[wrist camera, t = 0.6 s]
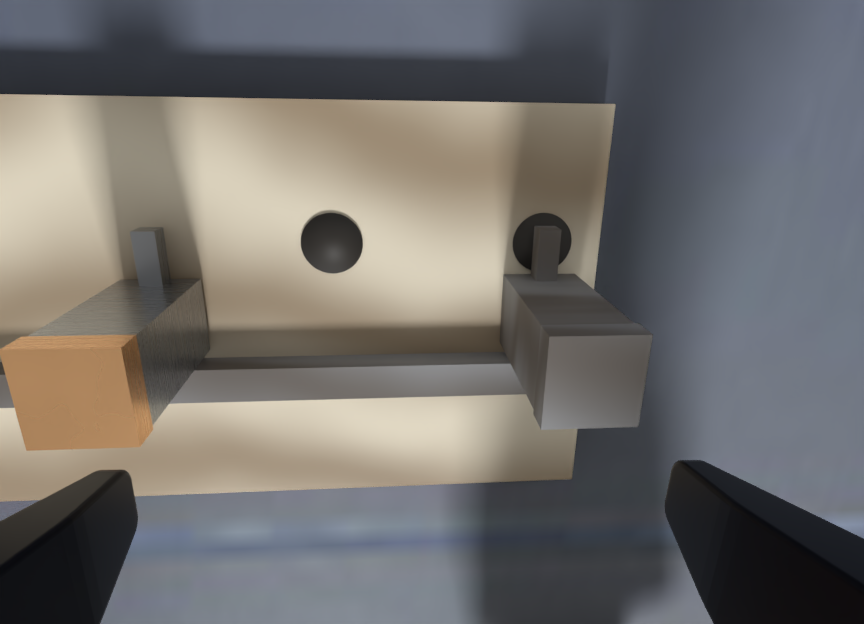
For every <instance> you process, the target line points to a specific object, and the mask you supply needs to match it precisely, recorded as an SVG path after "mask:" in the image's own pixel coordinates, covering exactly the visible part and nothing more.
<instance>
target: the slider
mask: <svg viewBox="0 0 864 624" xmlns="http://www.w3.org/2000/svg"><path fill="white" fill-rule="evenodd" d="M130 236H131V241H132V247H133V253H134V259H135V265H136V270H137V276H138V279H120V280H119V281H117V282H116V283H114V284H112V285H111V286H109V287H107V288H106V289H104V290H102V291H101V292H99V293H98V294H96V295H94V296H93V297H91V298H89V299H88V300H86V301H85V302H83V303H81V304H80V305H78V306H76V307H75V308H73V309H71V310H70V311H68V312H67V313H65V314H63V315H62V316H60V317H58V318H57V319H55V320H53V321H52V322H50V323H49V324H47V325H45V326H44V327H42V328H40V329H39V330H37V331H35V332H34V333H32V334H31V335H29V336H24V337H20V338H18V339H16V340H15V341H13V342H11V343H10V344H8V345H6V346H5V347H3V348H1V349H0V357H1V360H2V364H3V368H4V371H5V375H6V378H7V382H8V386H9V389H10V393H11V397H12V400H13V404H14V408H15V411H16V415H17V419H18V422H19V426H20V430H21V433H22V437H23V441H24V444H25V448H26V451H38V450H68V449H99V448H130V447H141V445H142V444H143V443H144V441H145V440H146V439H147V437H148V436H149V435H150V433H151V432H152V431H153V424H154V423H155V422H156V421H157V419H158V418H159V417H160V415H161V414H162V413H163V411H164V410H165V409H166V407H167V406H168V405H169V403H170V402H171V401H172V399H173V398H174V397H175V395H176V394H177V393H178V391H179V390H180V389H181V387H182V386H183V385H184V383H185V382H186V381H187V380H188V378H189V377H190V376H191V374H192V373H193V372H194V370H195V369H196V368H197V366H198V365H199V364H200V362H201V361H202V360H203V358H204V357H205V356H206V354H207V353H208V352H209V350H210V344H209V336H208V328H207V321H206V313H205V306H204V298H203V291H202V283H201V279H171V276H170V269H169V263H168V256H167V250H166V243H165V237H164V230H163V227H139V228H137V229H135V230H132V231H130Z"/></svg>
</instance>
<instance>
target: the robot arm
mask: <svg viewBox="0 0 864 624" xmlns="http://www.w3.org/2000/svg"><path fill="white" fill-rule="evenodd" d="M665 513H666V517H667V520H668V522H669V525H670V527H671V529H672V532H673V534H674V536H675V539H676V541H677V543H678V546H679V548H680V550H681V553H682V555H683V557H684V560H685V562H686V564H687V567H688V569H689V571H690V574H691V576H692V579H693V581H694V583H695V586H696V588H697V590H698V593H699V595H700V597H701V599H702V601H703V603H704V606H705V608H706V610H707V612H708V613H709V615H710V617H711V619H712V621H713V623H714V624H864V539H863V538H861V537H859V536H857V535H855V534H853V533H851V532H849V531H847V530H845V529H843V528H840V527H838V526H836V525H834V524H832V523H830V522H828V521H826V520H824V519H822V518H820V517H818V516H816V515H814V514H812V513H810V512H807V511H805V510H803V509H801V508H799V507H797V506H795V505H793V504H791V503H789V502H787V501H785V500H783V499H781V498H779V497H777V496H774V495H772V494H770V493H768V492H766V491H764V490H762V489H760V488H758V487H756V486H754V485H752V484H750V483H748V482H746V481H744V480H742V479H739V478H737V477H735V476H733V475H731V474H729V473H727V472H725V471H723V470H721V469H719V468H717V467H715V466H713V465H711V464H709V463H706V462H704V461H701V460H680V461H677V462H676V463H674V465H673V467H672V470H671V475H670V480H669V485H668V490H667V495H666V500H665ZM137 522H138V514H137V508H136V502H135V496H134V490H133V484H132V479H131V476H130V474H129V472H127V471H126V470H98V471H95V472H93V473H91V474H89V475H87V476H85V477H83V478H82V479H80V480H78V481H76V482H74V483H72V484H70V485H68V486H66V487H65V488H63V489H61V490H59V491H57V492H55V493H53V494H51V495H49V496H48V497H46V498H44V499H42V500H40V501H38V502H36V503H34V504H32V505H30V506H29V507H27V508H25V509H23V510H21V511H19V512H17V513H15V514H13V515H12V516H10V517H8V518H6V519H4V520H2V521H0V624H100V623H101V620H102V618H103V615H104V613H105V610H106V608H107V605H108V602H109V600H110V597H111V595H112V592H113V589H114V587H115V584H116V581H117V579H118V576H119V574H120V571H121V568H122V566H123V563H124V561H125V558H126V555H127V553H128V550H129V548H130V545H131V542H132V540H133V537H134V535H135V532H136V528H137Z"/></svg>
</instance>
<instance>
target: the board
mask: <svg viewBox="0 0 864 624" xmlns="http://www.w3.org/2000/svg"><path fill="white" fill-rule="evenodd" d="M615 105H616V104H584V103H522V102H459V101H397V100H335V99H272V98H210V97H147V96H85V95H22V94H0V349H1V348H3V347H5V346H6V345H8V344H10V343H11V342H13V341H15V340H16V339H18V338H20V337H24V336H29V335H31V334H32V333H34V332H35V331H37V330H39V329H40V328H42V327H44V326H45V325H47V324H49V323H50V322H52V321H53V320H55V319H57V318H58V317H60V316H62V315H63V314H65V313H67V312H68V311H70V310H71V309H73V308H75V307H76V306H78V305H80V304H81V303H83V302H85V301H86V300H88V299H89V298H91V297H93V296H94V295H96V294H98V293H99V292H101V291H102V290H104V289H106V288H107V287H109V286H111V285H112V284H114V283H116V282H117V281H119V280H120V279H138V276H137V270H136V265H135V259H134V253H133V247H132V241H131V236H130V231H132V230H135V229H137V228H139V227H163V230H164V237H165V243H166V250H167V256H168V263H169V269H170V276H171V279H201V283H202V291H203V298H204V306H205V313H206V321H207V328H208V336H209V344H210V350H209V352H208V353H207V354H206V356H205V357H204V358H203V360H202V361H201V362H200V364H199V365H198V366H197V368H196V369H195V370H194V372H193V373H192V374H191V376H190V377H189V378H188V380H187V381H186V382H185V383H184V385H183V386H182V387H181V389H180V390H179V391H178V393H177V394H176V395H175V397H174V398H173V399H172V401H171V402H170V403H169V405H168V406H167V407H166V409H165V410H164V411H163V413H162V414H161V415H160V417H159V418H158V419H157V421H156V422H155V423H154V424H153V431H152V432H151V433H150V435H149V436H148V437H147V439H146V440H145V441H144V443H143V444H142V445H141V447H130V448H99V449H68V450H38V451H26V448H25V444H24V441H23V437H22V433H21V430H20V426H19V422H18V419H17V415H16V411H15V408H14V404H13V400H12V397H11V393H10V389H9V386H8V382H7V378H6V375H5V371H4V368H3V364H2V360H1V357H0V501H25V500H42V499H44V498H46V497H48V496H49V495H51V494H53V493H55V492H57V491H59V490H61V489H63V488H65V487H66V486H68V485H70V484H72V483H74V482H76V481H78V480H80V479H82V478H83V477H85V476H87V475H89V474H91V473H93V472H95V471H98V470H126V471H127V472H129V474H130V476H131V479H132V484H133V490H134V496H153V495H179V494H204V493H230V492H256V491H281V490H307V489H332V488H358V487H384V486H409V485H435V484H461V483H486V482H512V481H537V480H563V479H572V473H573V464H574V456H575V447H576V438H577V430H578V429H587V428H618V427H638V426H639V419H640V413H641V407H642V400H643V394H644V388H645V382H646V375H647V369H648V363H649V356H650V350H651V344H652V338H653V334H651V333H650V332H649V331H648V330H646V329H645V328H644V327H643V326H642V325H640V324H639V323H634V322H632V321H631V320H630V319H629V318H628V317H626V316H625V315H624V314H623V313H621V312H620V311H619V310H618V309H617V308H615V307H614V306H613V305H612V304H611V303H609V302H608V301H607V300H606V299H605V298H603V297H602V296H601V295H600V294H599V293H597V292H596V291H595V290H594V284H595V276H596V267H597V259H598V250H599V242H600V233H601V224H602V216H603V207H604V199H605V190H606V182H607V173H608V165H609V156H610V147H611V139H612V130H613V122H614V113H615Z"/></svg>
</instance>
